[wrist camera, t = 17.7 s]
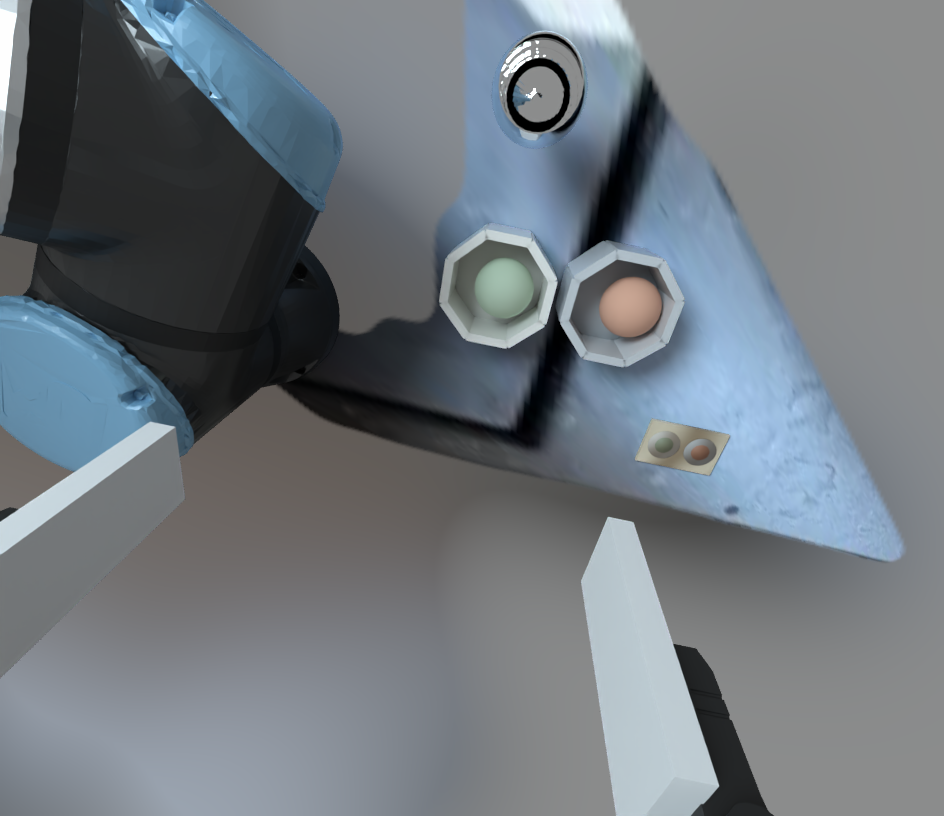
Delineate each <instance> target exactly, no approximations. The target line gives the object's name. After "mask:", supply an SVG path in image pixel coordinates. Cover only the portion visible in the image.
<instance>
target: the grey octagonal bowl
mask: <svg viewBox="0 0 944 816" xmlns="http://www.w3.org/2000/svg"><path fill="white" fill-rule="evenodd" d="M568 266H569V267H568ZM568 266H566V267H565V271H564V274H563V278H562V282H561V285H560V289H559V293H558V296H557V300H556V304H555V305H556V310H557V314H558V317H559V321H560V324H561V326H562V327H563V329H564V331H565V332H566V334H567V336H568V337H569V339H570V341H571V342H572V344H573V345H574V347H575V349H576V350H577V352H578V354H579V355H580V357H581V358H583V359H585V360H589V361H594V362H599V363H604V364H609V365H613V366H618V367H623V368H624V365H625V366H626V367H628V366H630V365H631V364H633V363H635V362H637V361H639V360H641V359H643V358H644V357H646V356H648V355H650V354H652V353H654V352H656V351H657V350H659V349H661V348H663V347H665V346H666V345H665V343H666V344H668V343H669V340H670V338H671V335H672V333H673V330H674V328H675V325H676V323H677V320H678V318H679V315H680V313H681V310H682V308H683V306H684V303H685V302H684V301H683V300H685V298H684V296H683V294H682V292H681V290H680V288H679V286H678V284H677V282H676V280H675V278H674V276H673V274H672V272H671V270H670V268H669V266H668V264H667V262H666V260H664V259H663V258H661V257H660V256H658V255H656V254H655V253H653V252H651V251H649V250H648V249H646V248H641V247H637V246H632V245H627V244H622V243H617V242H613V241H608V240H606V242H605V241H602V242H601V243H599V244H597V245H596V246H594V247H593V248H591V249H590V250H588V251H587V252H585V253H583V254H582V255H580V256H579V257H577V258H576V259H574V260H573V261H571V262H569V263H568ZM625 277H640V278H643V279H646V280H648V281H649V282H651V283H652V284H653V285H654V286H655V287H656V288H657V290H658V292H659V294H660V296H661V301H662V309H661V313H660V316H659V319H658V320H657V322H656V323H655V325H654V326H653V327H652V328H651V329H650V330H649V331H647V332H646V333H644V334H642V335H639V336H636V337H621V336H618V335H615V334H613V333H612V332H610V331H609V330H608V329H607V328H606V327H605V326H604V324H603V323H602V321H601V318H600V314H599V304H600V300H601V297H602V295H603V293H604V292H605V290H606V289H607V288H608V287H609V286H610V285H611V284H612V283H614V282H615V281H617V280H619V279H622V278H625Z"/></svg>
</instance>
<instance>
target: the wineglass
mask: <svg viewBox="0 0 944 816" xmlns="http://www.w3.org/2000/svg"><path fill="white" fill-rule="evenodd" d="M587 91H588V78H587V72H586V67H585V63H584V61H583V58H582V56H581V54H580V52H579V51H578V49H577V48H576V47H575V45H574V44H573V43H572V42H571V41H570V40H568V39H567V38H566V37H564V36H563V35H560V34H558V33H556V32H552V31H538V32H532V33H530V34H528V35H525V36H523V37H522V38H520V39H519V40H517V41H516V42H515V43H514V44H512V45H511V47H510V48H509V49H508V50H507V51H506V52H505V54H504V55H503V57H502V58H501V60H500V62H499V64H498V66H497V68H496V71H495V75H494V79H493V82H492V93H491V98H492V107H493V111H494V115H495V118H496V121H497V123H498V125H499V127H500V129H501V130H502V131H503V133H504V134H505V135H506V136H507V137H508V138H509V139H510V140H511V141H513V142H514V143H516V144H518V145H520V146H522V147H526V148H531V149H540V148H545V147H549V146H551V145H554V144H556V143H557V142H559V141H560V140H562V139H563V138H564V137H566V136H567V135H568V134H569V133H570V132H571V131H572V129H573V128H574V127H575V125H576V124H577V122H578V120H579V119H580V117H581V115H582V112H583V109H584V106H585V103H586V98H587Z"/></svg>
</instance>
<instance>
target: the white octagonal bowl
mask: <svg viewBox="0 0 944 816" xmlns="http://www.w3.org/2000/svg"><path fill="white" fill-rule="evenodd" d="M504 257H507V258H512V259H515V260H518V261H519V262H521V263H522V264H523V265H525V266H526V268H527V269H528V270H529V272H530V274H531V276H532V279H533V284H534V291H533V296H532V299H531V301H530V303H529V305H528V306H527V307H526V308H525V309H524V310H523V311H522V312H521V313H520V314H518V315H516V316H514V317H510V318H497V317H494V316H491V315H490V314H488V313H486V312H485V311H484V310H483V309H482V308H481V306H480V305H479V303H478V301H477V299H476V295H475V281H476V278H477V275H478V273H479V271H480V270H481V269H482V268H483V266H484V265H486V264H487V263H488V262H490V261H492V260H494V259H497V258H504ZM557 283H558V282H557V277H556V274H555V271H554V269H553V266H552V265H551V263H550V261H549V259H548V258H547V256H546V254H545V253H544V251H543V249H542V248H541V246H540V244H539V242H538V241H537V239H536V237H535V236H534V234H533V232H532V233H531V231H529V230H525V229H520V228H515V227H510V226H505V225H501V224H496V223H490V224H489V223H488V224H486V225H485V226H483V227H482V228H481V229H479V230H478V231H477V232H475V233H474V234H472V235H471V236H470V237H468V238H467V239H466V240H464V241H463V242H461V243H460V244H459V245H457V246H456V247H455V248H454V249H453V250H452V251H451V252H450V253H449V255H448V256H447V258H446V259H445V265H444V272H443V278H442V285H441V291H440V298H439V302H440V306H441V308H442V309H443V310H444V312H445V313H446V315H447V316H448V318H449V319H450V320H451V322H452V323H453V325H454V326H455V327H456V329H457V330H458V332H459V333H460V335H461V336H462V337H463V339H465V338H466V341H471V342H475V343H480V344H485V345H490V346H495V347H499V348H504V349H506V348H507V347H508V348H510V347H512V346H514V345H515V344H517V343H519V342H520V341H522V340H524V339H525V338H527V337H529V336H530V335H532V334H534V333H535V332H537V331H538V330H540V329H542V328H543V327H545V325H544V324H547V320H548V317H549V313H550V309H551V305H552V302H553V298H554V294H555V290H556V287H557Z"/></svg>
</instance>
